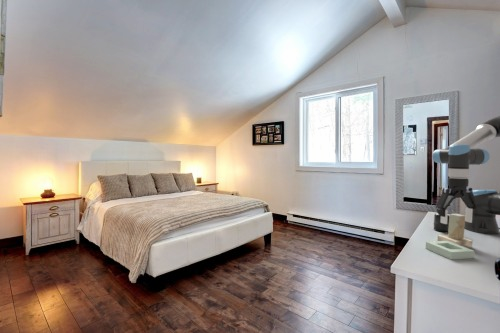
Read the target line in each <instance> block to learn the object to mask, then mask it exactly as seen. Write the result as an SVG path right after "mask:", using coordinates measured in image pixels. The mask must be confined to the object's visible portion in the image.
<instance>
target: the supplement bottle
mask: <svg viewBox="0 0 500 333" xmlns="http://www.w3.org/2000/svg"><path fill="white" fill-rule="evenodd" d="M449 215H450V214H448V217H447V224H443V223H441V216H440V209H438V208H436V212H435V213H434V216H433V230H434V231H437V232H439V233H440V232H441V233H448V229H449Z"/></svg>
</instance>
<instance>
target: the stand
mask: <svg viewBox="0 0 500 333" xmlns="http://www.w3.org/2000/svg"><path fill="white" fill-rule="evenodd" d="M437 241H449V242H452V243H454V244H457V245H460V246H463V247H465V248H468V249H469V248H473V240H471V239H467V238H465V237H464V239H459V240H458V239H454V238H450V237H448V234H438V235H437Z"/></svg>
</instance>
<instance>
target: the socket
mask: <svg viewBox="0 0 500 333" xmlns="http://www.w3.org/2000/svg"><path fill="white" fill-rule="evenodd" d="M425 249H426V250H429V251H431V252H432V253H435V254H438V255H440V256H442V257H444V258H447V259H450V260H463V259H475V250H473V249H470V248H469V247H468V248H465V247H463V246H460V245H457V244H454V243H452V242H449V241H438V240H436V241H435V240H434V241H426V242H425Z"/></svg>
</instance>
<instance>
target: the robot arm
mask: <svg viewBox="0 0 500 333" xmlns="http://www.w3.org/2000/svg"><path fill="white" fill-rule="evenodd" d="M495 138H500V115H498V116H496V117H492V118H491V119H488V120H487V121H484V122H482V123H480V124H479V125H477V127H476V128H475V129H474V130H473V131H471V132H470V133H468V134H466V135H465V136H464V137H462V138H460V139H458V140H457V141H455V142H453V143H452V144H450V145H449V146H447V147H445V148H440V149H435V150H434V151H433V153H432V155H431V156H432V157H431V158H432V160H433V162H434V163H437V164H442V165H443V164H448V167H447V168H448V169H447V176H448V177H447V185H448V188H446V187H443V188H442V192H441V194H440V197H439V199H438V201H437V203H436V206H435V207H436V209H440V216H441V223H443V224H447V217H448V215H449V214H448V212H449V210H448V208H449V206H450V205H451V203H452V202H453V201H454V200H455V199H459V198H460V199H461V200H462V202H463V203H464V205H465V206H466V207H465V208H464V210H465V211H464V215H465V226H464V230H468V231H472V232H475V233H481V234H488V235H489V234H491V235H498V234H500V227H499V224H498V221H497V217H496V216H500V192H498V190H497V189H473V188H472V187H469V182H470V181H469V177H470V166H471V165H472V166H474V165H477V166H479V165H483V164H486V163H488V162H489V160H490V158H491V155H490V153H489V152H488V150H486V149H485V148H484V149H483V148H477V147H479V146H480V145H481V144H483V143H485V142H486V141H490V140H491V141H492V139H495Z"/></svg>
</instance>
